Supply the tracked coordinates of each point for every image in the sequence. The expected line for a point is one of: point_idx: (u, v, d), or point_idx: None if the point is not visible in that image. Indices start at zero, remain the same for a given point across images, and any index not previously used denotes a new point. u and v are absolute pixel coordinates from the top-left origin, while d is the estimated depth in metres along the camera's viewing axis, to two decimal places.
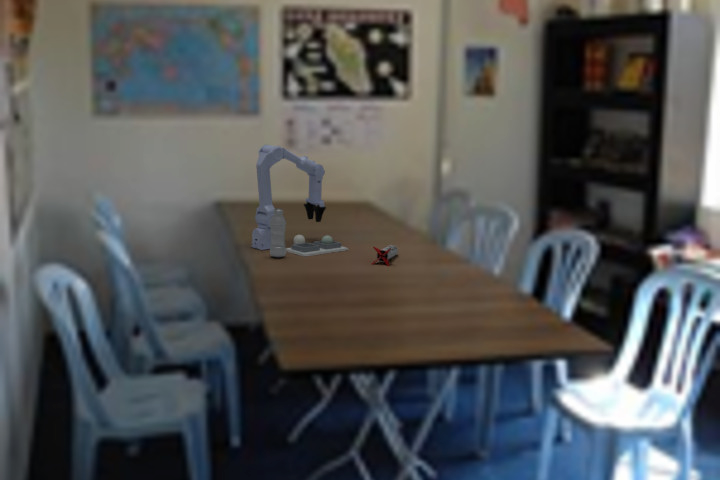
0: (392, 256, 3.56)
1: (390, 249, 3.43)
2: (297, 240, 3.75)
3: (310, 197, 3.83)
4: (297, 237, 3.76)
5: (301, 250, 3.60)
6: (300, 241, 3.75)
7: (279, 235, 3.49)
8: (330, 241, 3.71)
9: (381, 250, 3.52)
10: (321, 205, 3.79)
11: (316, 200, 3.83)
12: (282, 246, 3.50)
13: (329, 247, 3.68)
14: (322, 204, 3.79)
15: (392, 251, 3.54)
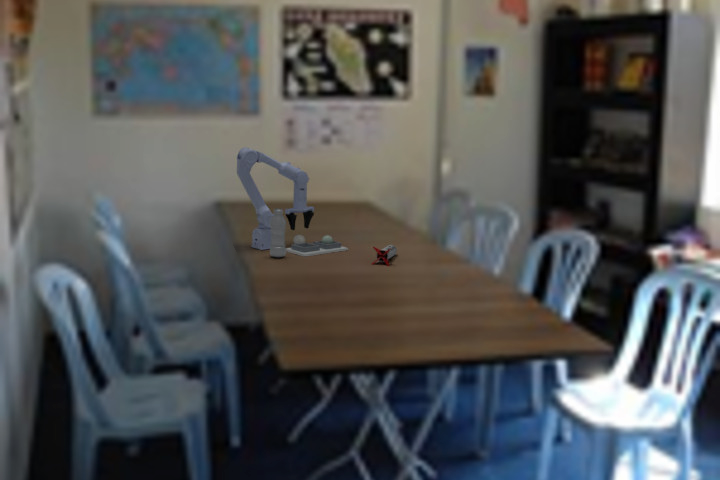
0: (391, 256, 3.56)
1: (390, 249, 3.43)
2: (297, 240, 3.75)
3: None
4: (297, 237, 3.76)
5: (301, 250, 3.60)
6: (300, 241, 3.75)
7: (279, 235, 3.49)
8: (330, 241, 3.71)
9: None
10: (285, 212, 3.71)
11: (293, 207, 3.74)
12: (282, 246, 3.50)
13: (329, 247, 3.68)
14: (286, 211, 3.70)
15: (391, 251, 3.55)
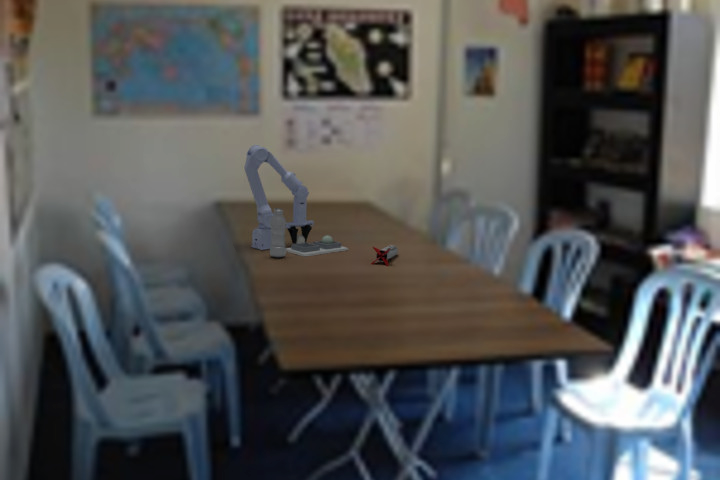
0: (392, 256, 3.56)
1: (389, 249, 3.43)
2: (297, 240, 3.75)
3: None
4: (297, 237, 3.76)
5: (301, 250, 3.60)
6: (300, 241, 3.75)
7: (279, 235, 3.49)
8: (330, 241, 3.71)
9: (381, 250, 3.52)
10: None
11: (293, 221, 3.75)
12: (282, 246, 3.50)
13: (329, 247, 3.68)
14: (286, 225, 3.71)
15: (392, 251, 3.54)
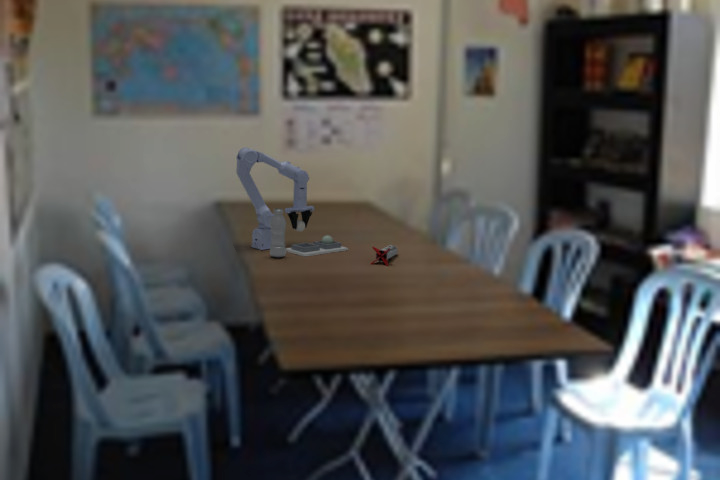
0: (391, 256, 3.56)
1: (389, 249, 3.43)
2: (297, 225, 3.74)
3: None
4: (297, 222, 3.74)
5: (301, 250, 3.60)
6: (300, 226, 3.74)
7: (279, 235, 3.49)
8: (330, 241, 3.71)
9: None
10: (285, 211, 3.71)
11: (293, 206, 3.73)
12: (282, 246, 3.50)
13: (329, 247, 3.68)
14: (286, 210, 3.70)
15: (391, 251, 3.54)
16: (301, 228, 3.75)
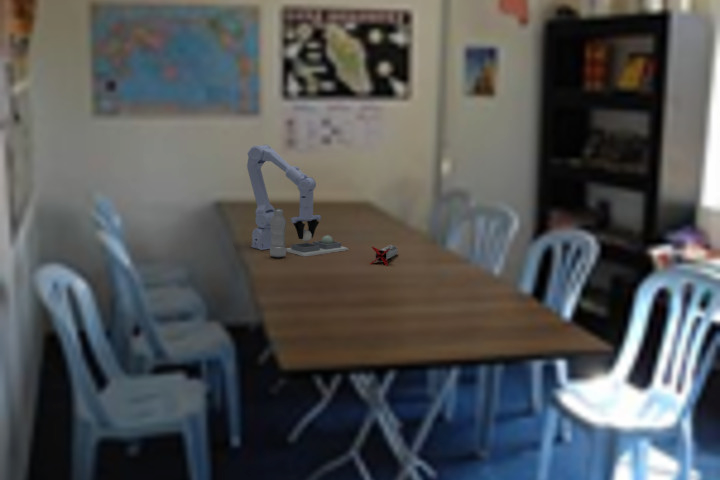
0: (391, 256, 3.56)
1: (389, 249, 3.43)
2: (303, 235, 3.62)
3: None
4: (303, 232, 3.62)
5: (301, 250, 3.60)
6: (307, 236, 3.62)
7: (279, 235, 3.49)
8: (330, 241, 3.71)
9: (380, 250, 3.52)
10: (291, 221, 3.58)
11: (299, 216, 3.61)
12: (282, 246, 3.50)
13: (329, 247, 3.68)
14: (292, 220, 3.58)
15: (391, 251, 3.54)
16: (307, 238, 3.62)
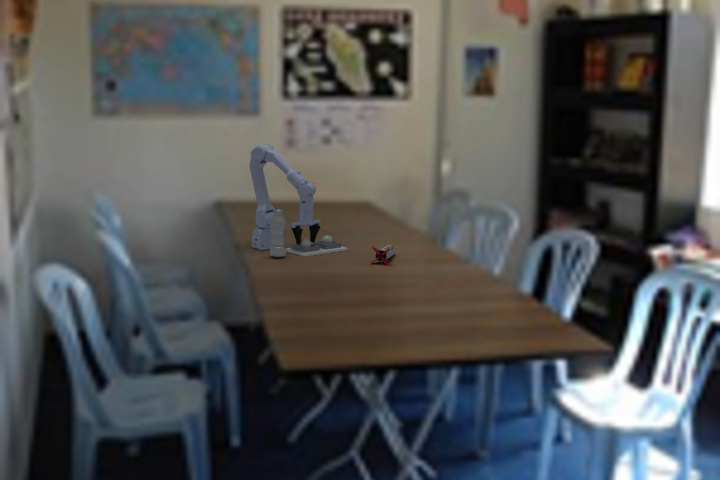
0: (390, 256, 3.57)
1: (389, 249, 3.43)
2: (302, 244, 3.62)
3: None
4: (302, 241, 3.62)
5: (301, 250, 3.60)
6: (306, 245, 3.62)
7: (279, 235, 3.49)
8: (330, 241, 3.71)
9: None
10: (291, 226, 3.59)
11: (299, 221, 3.62)
12: (282, 246, 3.50)
13: (329, 247, 3.68)
14: (292, 225, 3.58)
15: (390, 251, 3.55)
16: None
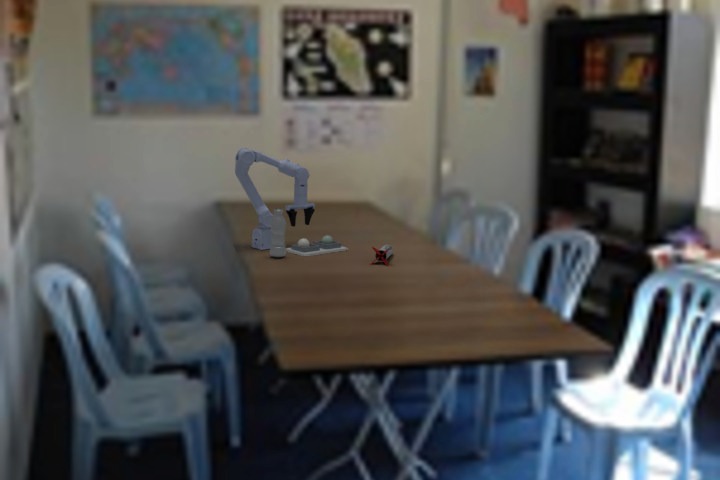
0: None
1: (389, 249, 3.44)
2: (301, 246, 3.62)
3: None
4: (300, 243, 3.62)
5: (301, 250, 3.60)
6: (305, 246, 3.62)
7: (279, 235, 3.49)
8: (330, 241, 3.71)
9: (379, 250, 3.52)
10: (286, 208, 3.69)
11: (294, 204, 3.72)
12: (282, 246, 3.50)
13: (329, 247, 3.68)
14: (286, 207, 3.69)
15: (389, 251, 3.55)
16: None
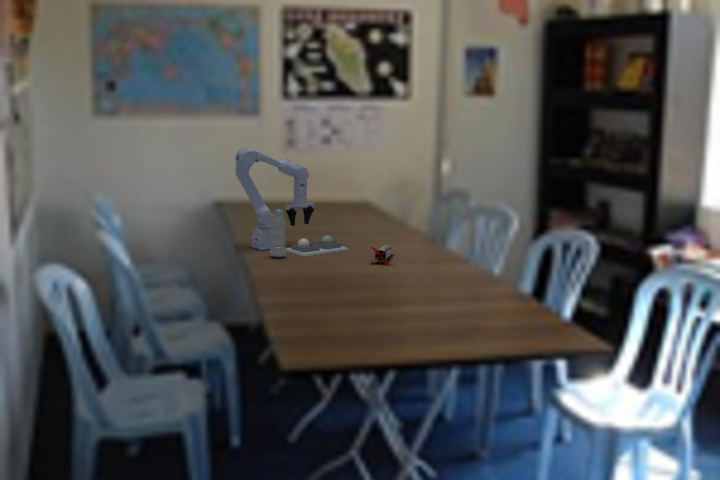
0: (388, 256, 3.57)
1: (388, 249, 3.44)
2: (301, 246, 3.62)
3: None
4: (300, 243, 3.62)
5: (301, 250, 3.60)
6: (305, 246, 3.62)
7: (279, 235, 3.49)
8: (330, 241, 3.71)
9: None
10: (285, 208, 3.70)
11: (293, 203, 3.73)
12: (282, 246, 3.50)
13: (329, 247, 3.68)
14: (286, 207, 3.70)
15: (389, 251, 3.55)
16: None
